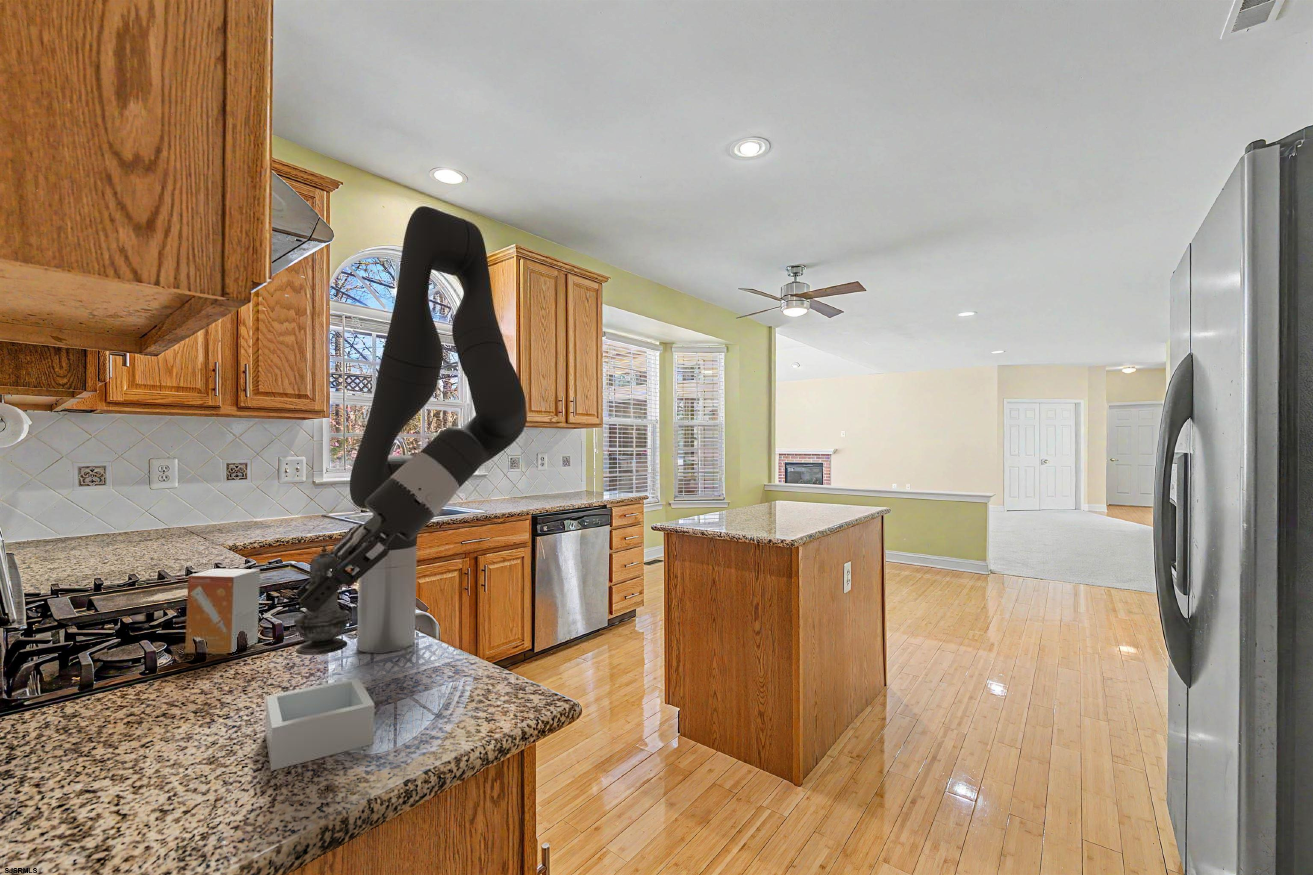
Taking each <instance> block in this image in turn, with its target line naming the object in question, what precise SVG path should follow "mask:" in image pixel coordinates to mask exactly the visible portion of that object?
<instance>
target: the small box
mask: <svg viewBox="0 0 1313 875" xmlns="http://www.w3.org/2000/svg"><path fill="white" fill-rule="evenodd" d="M260 575H261V569H259V568H257V569H256V568H255V569H249V568H248V569H246V568H213V569H208V570H204V571H199V572H196V573H193V574H190V575H188V576H187V578H188V579H187V596H186V598H187V600H186V602H187V603H186V622H185V623H186V624H185V649H184V650H185V651H184V652H185V653H186V654H196V653H195V644H194V642H193V637H200V638H201V639H204V640H205V641H206V642H207V647H208V651H209V653H210V655H214V654H215V655H227V654H226V653H232V652H235V651H236V649H237V637H238V634H239V632H240V631H244V632H245V633H246V634H247V638H248V644H249V645H250V646H249V647H251V645H252V646H254V645H255V643H256V644H257V643H258V639H259V637H258V636H259V610H260V609H259V604H260V577H261V576H260ZM209 653H208V654H209Z"/></svg>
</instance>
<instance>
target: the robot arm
mask: <svg viewBox="0 0 1313 875" xmlns="http://www.w3.org/2000/svg"><path fill="white" fill-rule="evenodd" d="M402 244H403V245H402V250H401V257H400V265H399V274H398V280H397V288H396V293H395V294H396V295H395V301H394V306H393V309H392V314H391V319H390V322H389V326H388V327H389V328H388V331H387V336H386V338H385V343H384V347H383V350H382V354H381V358H380V363H379V366H378V372H377V378H376V382H375V389H374V394H373V397H372V398H373V399H372V402H371V407H370V410H369V414H368V418H367V421H366V425H365V427H364V428H365V429H364V431H363V434H362V437H361V440H360V444H359V446H358V449H357V451H356V455H355V458H354V460H353V461H354V462H353V465H352V469H351V473H350V477H349V478H350V479H349V495H350V498H351V501H352V503H353V504H354V506H356V507H357V508H360V509H365V510H367V509H368V510H369V511H370V513H372V517H371V518H369V519H368V520H367V521H366V522H364V523H363V524H362V523H360V522H359V523H358V524H357V525H356V526H352V527H350V528H349V529H348V530H347V532H346V533H345V535H343V537H341V539H340V540H339V541H338V542H337V543H336V544H335V545H334V547H332V549H330V551H329V552H328V553H329V554H331V555H333V556H335V557H336V558H337V562H336V563H335V564H334V565H333V566H332V567H331V568H330V569H329V570H327V573H326V574H325V576H326V577H327V578H326V577H325V576H323V577H322V578H321V579H320V580H319V581H318V582H317V583H316V584H315V585H314V586H312V587H311V588H310V589H307V588H306V586H307V585H308V584H310V578H309V579H308V580H307V581H306V582H304V584H302V585H301V586H300V587H299V588H298V589H297V590H296V591H295V596H296V597H297V599H299V604H300V606H302V607H303V608H304V609H306V611H307V610H308V611H310V612H316V611H317V610H318V609H319V608H320V607H321V606H322V605H323V604H324V603H325V602H326V601H327V600H328V599H329V598H330V597H331V596H332V595H333V594H334V593H335V592H336V591H337V590H338V591H339V589H344V587H347V588H349V587H351V586H353V585H354V584H355V582H358V586H357V588H358V590H357V594H358V595H357V625H356V626H357V627H356V649H357V650H358V651H360V652H362V653H367V654H368V653H369V654H382V653H384V654H385V653H391V652H390V651H392V652H396V650H397V651H399V649H400V650H404V649H407V648H409V647H410V645H411V646H413V645H414V644H415V638H416V637H415V636H416V610H417V609H416V606H417V605H416V600H417V597H416V596H417V564H418V563H417V561H418V560H417V558H418V557H417V554H418V553H417V550H418V545H417V544H418V536H419V533H420V532H421V531H422V530H423V529H424V528H425V527H426V526H427V525H428V523H430V522H431V521H432V520H433V519H434V518H435V517H436V516H437V515H438V514H439V513H440V512H441V510H443V509H444V507H446V506H447V505H448V504H449V502H450V501H451V499H452V498H453V497H454V495H455V494H456V493H457V492H458V490H459V489H460V488H461V487H462V486H463V485H464V484H466V482H467V481H468V480H469V479H470V478H471V477H472V476H474V474H475V473H476V472H477V471H478V470H479V469H480V468H481V466H483V464H485V463H487V462H489V461H490V460H492V459H494V458H495V457H496V456H497V455H499V454H500V453H502V452H503V451H505V449H508V448H509V447H510V446H511V445H512V444H514V442H515V441H516V440H517V439H518V438H519V437H520V436H521V434H522V433H523V432H524V429H525V428H526V425H527V416H528V415H527V400H526V396H525V392H524V389H523V386H522V383H521V381H520V378H519V376H518V373H517V372H516V370H515V367H514V366H513V364H512V362H511V360H510V356H509V352H508V349H507V346H506V343H505V339H504V335H503V334H502V331H501V328H500V325H499V323H498V318H497V315H496V314H497V313H496V308H495V304H494V298H493V292H492V291H493V289H492V283H491V274H490V268H489V262H488V254H487V248H486V244H485V240H484V236H483V234H482V231H481V230H480V228H479V227H478V226H477V225H476V224H475V222H472V221H470V220H468V219H465V218H463V217H460V216H458V215H455V214H452V213H449V212H447V211H444V210H442V209H438V208H436V207H433V206H430V205H425V204H423V205H420V206H419V207H417V208H415V210H414V211H413V212H412V214H411V215H410V218H409V220H408V222H407V225H406V228H405V232H404V236H403V242H402ZM432 271H435V272H439V273H442V274H446V275H449V276H453V277H454V276H455V277H456V278H457V279H458V281H459V283H460V285H461V286H460V287H462V288H461V289H462V292H463V295H462V298H461V300H460V303H459V305H458V307H457V309H456V311H455V314H454V316H453V320H452V323H451V324H452V328H451V331H452V332H451V333H452V341H453V344H454V347H455V350H456V353H457V357H458V361H459V364H460V367H461V369H462V371H463V374H464V376H465V377H466V379H467V383H468V388H469V391H470V396H471V400H472V405H473V409H474V413H475V415H474V416H473V418H471V420H469V421H468V422H467V423H466V424H464V425H463V426H461V427H458V426H449V427H447V428H445V429H444V430H442V431H440V433H438V434H437V435H436V436H435V437H434V438H433V439H432V440H431V441H430V442H429V443H427V445H426V446H424V447H423V448H422V449H421V450H420V451H419V452H418V453H417V454H415V455H414V456H412V455H406V454H405V455H402V454H401V455H400V454H390V452H391V450H392V447H393V445H394V443H395V441H396V439H397V437H398V436H399V434H400V433H401V431H402V430H403V428H405V427H406V426H407V424H409V422H410V421H411V420H413V418H414V417H415V416H416V415H418V413H420V411H421V410H422V409H423V408H424V407H425V405H427V404H428V403H429V402H430V400H431V399H432V397H433V396H434V393H435V391H436V389H437V386H438V382H439V378H440V373H441V370H442V365H443V361H444V350H443V344H442V341H441V338H440V335H439V332H438V329H437V326H436V324H435V321H434V317H433V316H432V311H431V308H430V302H429V287H430V279H431V276H432V275H431V273H432ZM349 569H350V571H348V570H349ZM408 646H409V647H408ZM403 648H404V649H403Z"/></svg>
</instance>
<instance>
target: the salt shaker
mask: <svg viewBox="0 0 1313 875" xmlns="http://www.w3.org/2000/svg"><path fill="white" fill-rule="evenodd" d="M327 550H328V548H327V547H326V546H324V545H323V546H322V548H321V549H320V551H321V552H320V553H319V554H317V555H315V556H313V557H312V558H311V559H310V561H309V579H310V584H308V585H307V586H306V588H307V589H310V588H311V587H312V586H314V585H315V584H316V583H317V582H318V581H319V580H320V579H321V578H322V577H323V576H325V574H326V573H327V570H329V569H330V568H331V567H332V566H333V565H334V564H335V563H336V562H337V561H338V559H337V558H336V557H335V556H333V555H331V554H329V552H327ZM325 577H326V576H325ZM326 578H327V577H326ZM338 591H339V589H338V590H337V591H336V592H335V593H334V594H333V595H332V596H331V597H330V598H329V599H328V600H327V601H326V602H325V603H324V604H323V605H322V606H321V607H320V608H319V609H318V610H317V611H316V612H310V611H308V610H307V609H306V612H304V614H303V615H300V616H298V617H296V618H294V620H293V623H294V625H296V630H297V633H298V635H299V636H300V637H301V639H303V640H305V641H306V642H304V643H303V644H301V645H300V646H299V647H297V648H296V651H295V652H296V654H298V655H302V656H318V655H319V656H320V655H325V654H330V653H331V654H332V653H335V652H337V651H340V650H343V649H345V648H346V647H347V646H348V642H347V641H346V640H344V639H343V638H340V637H339V636H340V635H341V634H342V633H343V632H344V631H345V630H346V627H347V625H348V619H349V618H350V617H351V613H350V612H349V611H346V610H342V609H341V608H340V605H339V602H338Z"/></svg>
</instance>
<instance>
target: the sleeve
mask: <svg viewBox="0 0 1313 875" xmlns="http://www.w3.org/2000/svg"><path fill="white" fill-rule="evenodd" d="M265 698H266V699H265V720H264V721H265V723H264V724H265V728H264V730H265V732H264V735H265V736H264V737H265V742H266V749H267V754H268V761H269V767H270V771H271V772H273V771H275V770H276V771H277V770H281V769H283V768H287V767H291V766H294V765H298V764H302V763H303V764H304V763H306V762H309V761H314V760H318V759H320V758H324V757H328V756H332V755H337V754H340V753H344V752H347V751H352V750H355V749H358V748H359V749H360V748H362V747H363V748H364V747H367V746H370V745H374V744H375V742H374V738H375V735H374V734H375V703H374V700H372V698H371V696H370V695H369V693H368V692H367V690H366V688H365V686H364V685H363V683H362V682H361V680H360V678H359V677H354V678H349V679H345V680H340V681H334V682H329V683H325V684H321V685H314V686H309V687H304V688H300V689H296V690H295V689H294V690H290V691H285V692H279V693H275V694H270V695H266V696H265Z"/></svg>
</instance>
